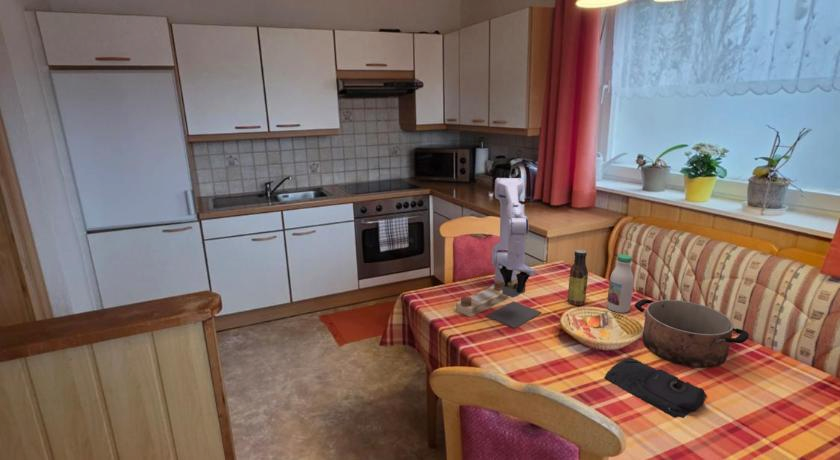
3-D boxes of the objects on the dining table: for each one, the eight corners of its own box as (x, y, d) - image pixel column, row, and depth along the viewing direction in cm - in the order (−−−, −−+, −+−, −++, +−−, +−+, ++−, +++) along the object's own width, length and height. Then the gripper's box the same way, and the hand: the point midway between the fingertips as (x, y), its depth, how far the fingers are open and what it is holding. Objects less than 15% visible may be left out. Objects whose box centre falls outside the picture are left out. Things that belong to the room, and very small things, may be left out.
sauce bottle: (586, 306, 164) (591, 255, 158) (568, 305, 165) (573, 254, 160) (583, 299, 170) (589, 249, 164) (566, 297, 171) (571, 248, 166)
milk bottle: (625, 304, 166) (632, 252, 160) (633, 313, 158) (640, 260, 153) (603, 303, 167) (609, 252, 161) (610, 313, 159) (616, 259, 154)
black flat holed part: (630, 360, 131) (632, 345, 130) (712, 399, 114) (715, 383, 113) (598, 378, 123) (600, 363, 122) (682, 424, 106) (685, 407, 104)
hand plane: (493, 292, 176) (494, 278, 174) (508, 298, 171) (509, 283, 170) (455, 310, 161) (455, 295, 160) (470, 317, 157) (470, 301, 155)
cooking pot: (616, 340, 142) (620, 309, 139) (649, 319, 155) (654, 290, 152) (725, 385, 119) (733, 349, 116) (753, 356, 133) (760, 323, 130)
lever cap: (514, 287, 160) (514, 277, 159) (525, 291, 157) (525, 281, 156) (502, 293, 155) (502, 282, 154) (513, 297, 152) (513, 286, 151)
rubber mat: (513, 302, 168) (513, 301, 167) (541, 313, 159) (541, 312, 159) (485, 316, 157) (485, 315, 157) (514, 328, 149) (514, 327, 148)
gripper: (491, 250, 154) (490, 286, 158) (527, 260, 144) (525, 299, 148) (504, 245, 159) (502, 281, 163) (540, 255, 149) (537, 293, 153)
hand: (514, 289), depth 156 cm, fingers closed on lever cap, 4 cm apart
